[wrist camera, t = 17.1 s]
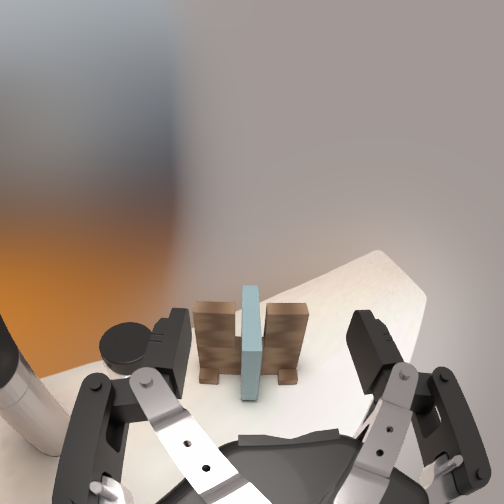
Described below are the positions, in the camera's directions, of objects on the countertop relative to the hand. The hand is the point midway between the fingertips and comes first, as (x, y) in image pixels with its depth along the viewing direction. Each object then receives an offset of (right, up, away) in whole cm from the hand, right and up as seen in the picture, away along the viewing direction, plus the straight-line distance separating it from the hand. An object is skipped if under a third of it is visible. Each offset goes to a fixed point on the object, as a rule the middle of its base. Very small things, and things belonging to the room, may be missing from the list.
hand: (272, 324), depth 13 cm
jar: (-18, -19, +26) cm, 37 cm away
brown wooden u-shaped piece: (-2, -17, +32) cm, 36 cm away
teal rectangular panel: (-2, -16, +31) cm, 35 cm away
